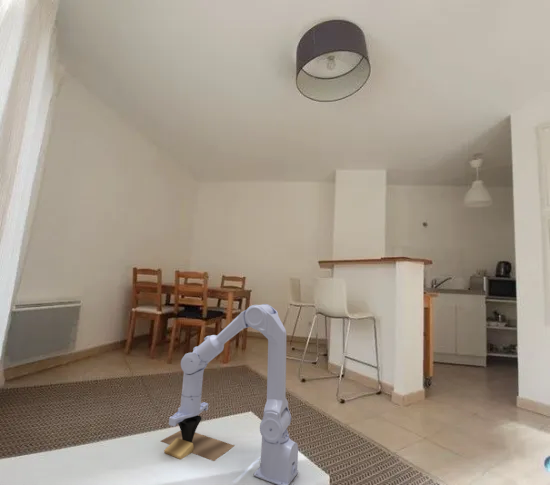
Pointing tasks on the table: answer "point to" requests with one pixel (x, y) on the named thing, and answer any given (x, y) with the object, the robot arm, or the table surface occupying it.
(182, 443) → the tile
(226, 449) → the deck
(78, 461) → the table surface
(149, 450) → the table surface
